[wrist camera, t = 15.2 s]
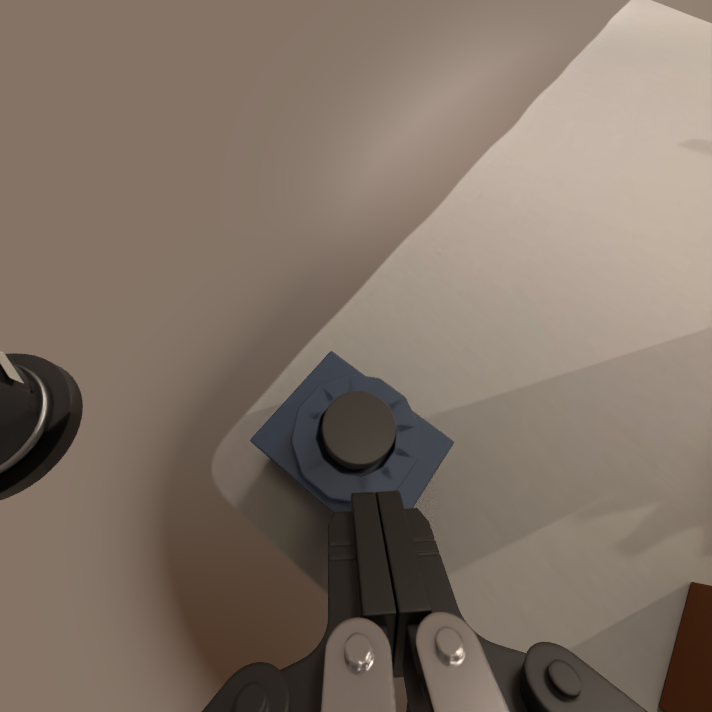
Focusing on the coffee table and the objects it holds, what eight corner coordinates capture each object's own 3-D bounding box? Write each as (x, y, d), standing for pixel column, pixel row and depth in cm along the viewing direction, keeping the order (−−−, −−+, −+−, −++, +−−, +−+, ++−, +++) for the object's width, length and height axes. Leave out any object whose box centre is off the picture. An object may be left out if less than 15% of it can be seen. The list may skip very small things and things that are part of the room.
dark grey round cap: (401, 429, 18) (410, 420, 16) (362, 484, 17) (366, 481, 15) (350, 390, 18) (352, 377, 17) (308, 440, 17) (306, 432, 15)
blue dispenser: (423, 458, 26) (467, 434, 17) (368, 543, 23) (389, 560, 15) (330, 387, 27) (331, 335, 19) (269, 458, 25) (240, 432, 17)
